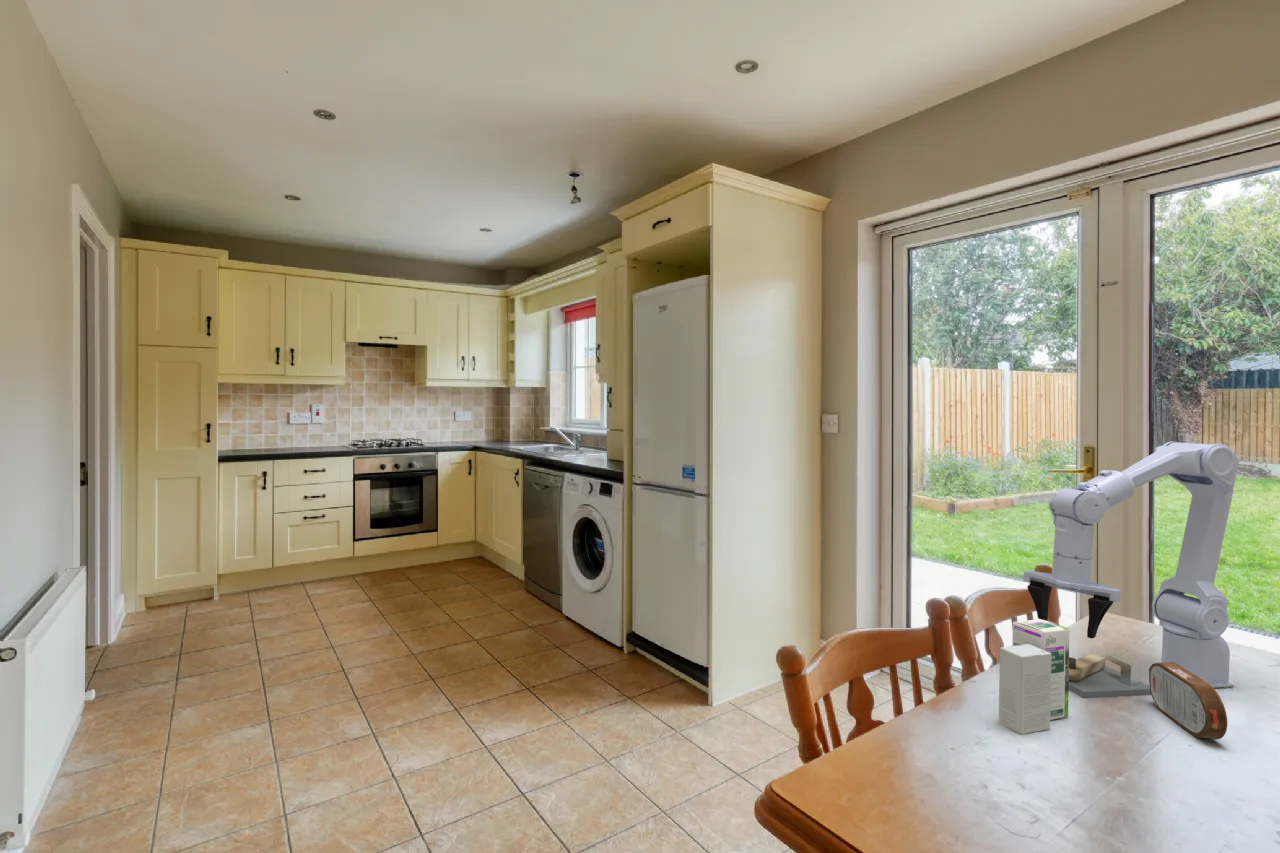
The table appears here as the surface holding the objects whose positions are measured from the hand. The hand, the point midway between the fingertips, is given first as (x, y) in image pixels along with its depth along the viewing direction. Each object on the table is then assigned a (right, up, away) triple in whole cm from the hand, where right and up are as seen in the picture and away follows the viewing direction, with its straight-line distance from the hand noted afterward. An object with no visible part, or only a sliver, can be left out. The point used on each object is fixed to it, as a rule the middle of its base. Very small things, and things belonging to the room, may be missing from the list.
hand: (1066, 630), depth 113 cm
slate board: (+6, -10, +1) cm, 11 cm away
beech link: (+5, -8, +2) cm, 10 cm away
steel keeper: (+10, -9, 0) cm, 14 cm away
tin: (+9, -11, -14) cm, 20 cm away
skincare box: (-17, -10, -16) cm, 26 cm away
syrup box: (-12, -10, -11) cm, 19 cm away
